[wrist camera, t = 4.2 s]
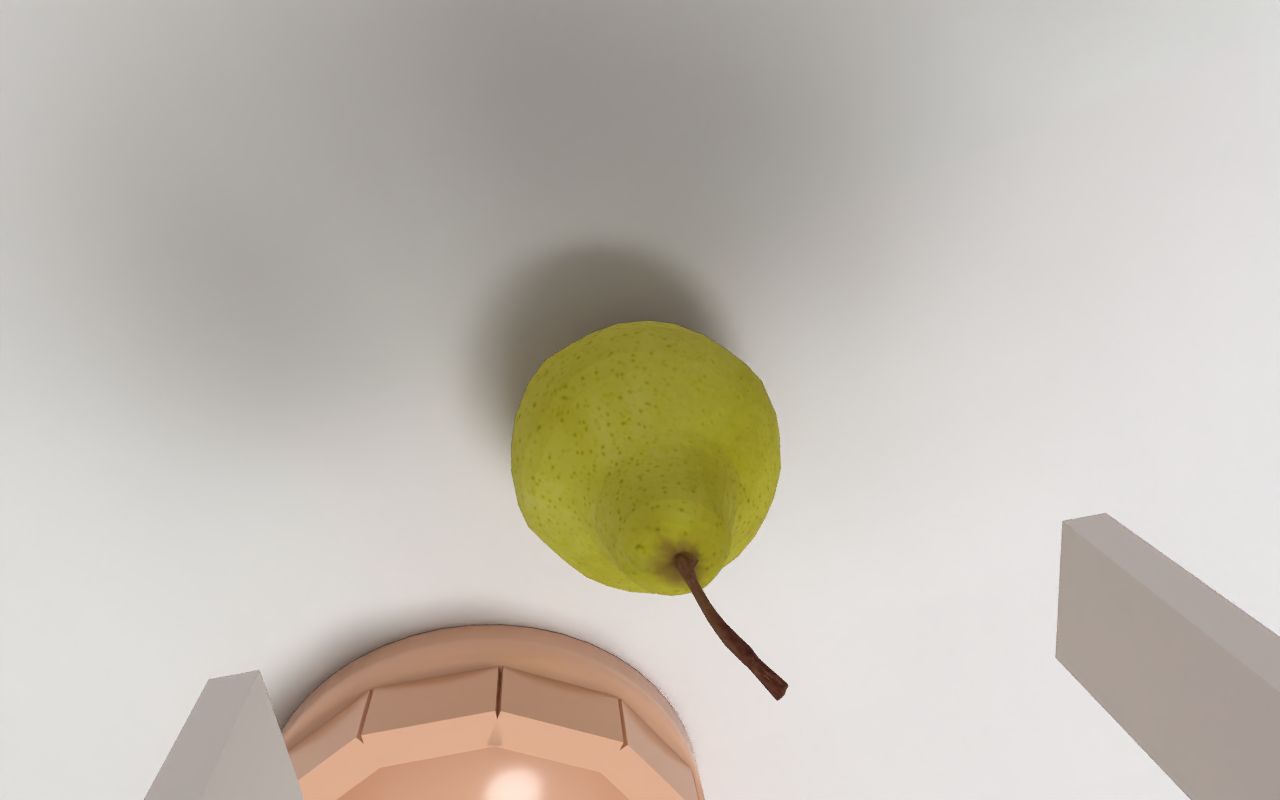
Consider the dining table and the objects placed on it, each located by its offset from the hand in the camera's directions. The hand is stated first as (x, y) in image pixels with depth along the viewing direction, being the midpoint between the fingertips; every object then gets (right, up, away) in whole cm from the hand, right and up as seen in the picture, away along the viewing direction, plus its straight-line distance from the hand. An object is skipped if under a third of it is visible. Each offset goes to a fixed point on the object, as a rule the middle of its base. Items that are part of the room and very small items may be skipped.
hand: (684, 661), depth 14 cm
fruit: (-1, +4, +12) cm, 12 cm away
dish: (-6, -10, +16) cm, 20 cm away
